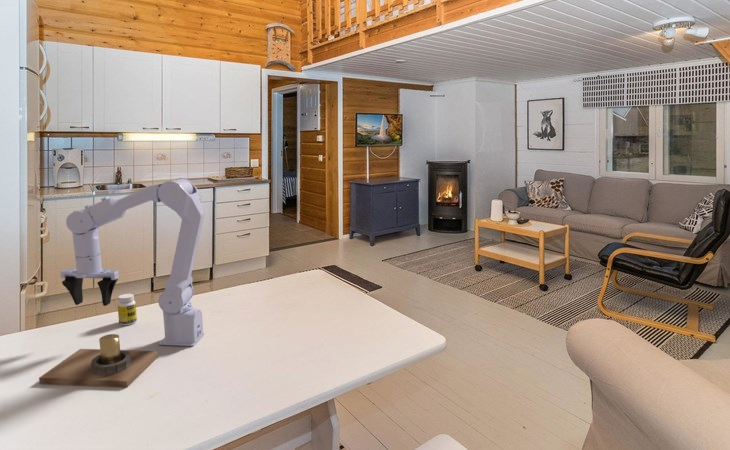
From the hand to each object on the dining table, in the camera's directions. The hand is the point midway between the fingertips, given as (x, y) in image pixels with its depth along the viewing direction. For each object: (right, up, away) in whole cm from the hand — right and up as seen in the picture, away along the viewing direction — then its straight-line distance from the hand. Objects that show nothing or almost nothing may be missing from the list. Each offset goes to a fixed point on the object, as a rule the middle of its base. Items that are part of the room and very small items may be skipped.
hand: (92, 304), depth 120 cm
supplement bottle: (+2, -8, +14) cm, 16 cm away
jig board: (+10, -13, -13) cm, 21 cm away
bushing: (+13, -12, -14) cm, 23 cm away
